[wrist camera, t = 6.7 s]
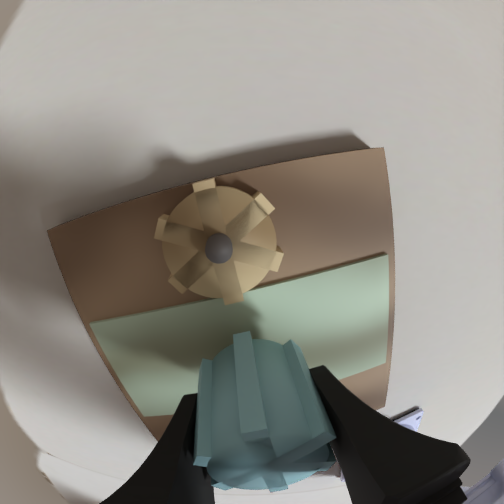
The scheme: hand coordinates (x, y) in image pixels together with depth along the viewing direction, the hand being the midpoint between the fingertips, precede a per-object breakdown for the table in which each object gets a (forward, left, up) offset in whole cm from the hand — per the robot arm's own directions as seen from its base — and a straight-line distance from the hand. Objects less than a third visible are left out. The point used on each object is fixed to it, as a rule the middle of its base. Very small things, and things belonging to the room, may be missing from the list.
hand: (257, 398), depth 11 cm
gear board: (0, 0, -4) cm, 4 cm away
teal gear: (0, 0, -2) cm, 2 cm away
